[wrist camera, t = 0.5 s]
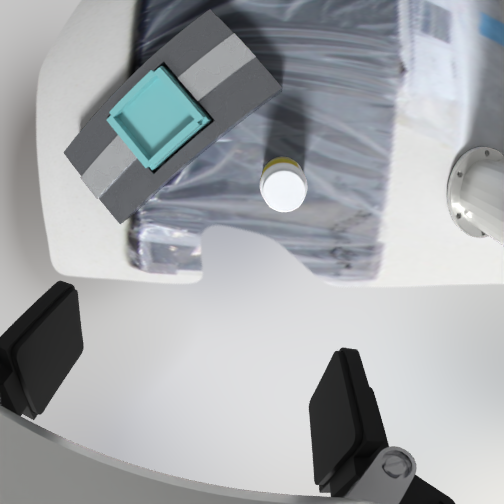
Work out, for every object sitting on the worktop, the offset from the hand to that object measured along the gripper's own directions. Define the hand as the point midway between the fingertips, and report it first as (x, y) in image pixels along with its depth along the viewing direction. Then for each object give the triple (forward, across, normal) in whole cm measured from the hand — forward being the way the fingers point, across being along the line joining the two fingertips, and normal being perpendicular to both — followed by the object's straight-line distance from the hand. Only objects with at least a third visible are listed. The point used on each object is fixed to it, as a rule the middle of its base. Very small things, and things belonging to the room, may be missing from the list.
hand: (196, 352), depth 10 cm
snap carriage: (+27, +11, -6) cm, 30 cm away
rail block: (+29, +11, -6) cm, 32 cm away
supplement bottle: (+29, -3, -2) cm, 30 cm away
